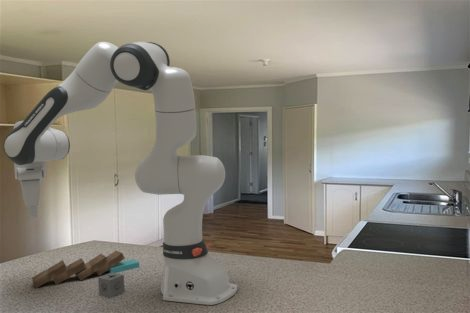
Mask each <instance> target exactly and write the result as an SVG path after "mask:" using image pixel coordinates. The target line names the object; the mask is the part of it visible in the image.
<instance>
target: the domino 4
mask: <svg viewBox="0 0 470 313" xmlns="http://www.w3.org/2000/svg"><path fill="white" fill-rule="evenodd" d="M105 257H106V258H107V259H108V261H109V263H107V264H106V265H104V266H103V267H101V268H100V269H98V270H97V271H95V272H94V273H95V275H96V276H98V277H101V276H102V275H104V273H106V272H108V271H107V270H109V269H110V268H112V267H113V266H115V265H116V264H118V263H119V262H123V261H125V259H126V258H125V256H124V254H123V252H120V251H118V250H115V251H113V252H112V253H109V255H107V256H105ZM94 273H93V274H94Z"/></svg>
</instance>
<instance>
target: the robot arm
mask: <svg viewBox="0 0 470 313" xmlns="http://www.w3.org/2000/svg"><path fill="white" fill-rule="evenodd" d="M170 64H171V61H170V55H169V54H168V51H167V50H166V49H165V48H164V47H163V46H162V45H160V44H159V43H156V42H152V41H151V42H150V41H149V42H148V41H146V42H145V41H135V42H131V43H125V44H122V45H121V46H119V47H118V46H117V45H116V44H113V43H111V42H108V41H99V42H97V43H95V44H94V45H93V46H92V47H91V48H89V50H88V51H87V52H85V54H84V56H83V57H82V58H81V59H80V61H79V62H78V63H77V65H76V66H75V68H74V69H73V71H71V73H70V74H69V75H68V77H67V78H65V79H64V80H63V81H62V82H61V83H59V84H58V85H57V86H55V87H54V88H52V89H50V90H49V91H48V92H47V93H46V94H45V95H44V96H43V97H42V98H41V99H40V100H39V102H38V103H37V104H36V106H35V107H33V109H32V110H31V111H30V112H29V113H28V115H27V116H26V117H25V119H21V120H17V122H15V123H14V125H13V128H12V130H10V131H9V132H8V134H7V135H6V136H5V139H4V142H3V150H4V154H5V155H6V157H7V158H8V159H9V160H10V161H11V162H13V167H14V168H13V169H14V178H15V180H18V181H19V184H20V186H21V187H20V188H21V193H22V199H23V203H24V206H25V207H28V209H29V217H30V218H37V215H38V212H37V211H38V210H37V209H38V206H39V204H40V196H41V194H40V193H41V184H42V183H43V182H44V181H43V180H44V178H47V176H48V172H47V162H48V163H49V162H57V161H60V160H63V159H65V158H66V157H67V156H68V154H69V152H70V149H71V142H70V139H69V136H68V134H66V132H65V131H63V130H61V129H56V128H53V127H51V126H52V125H53V124H54V123H55V122H56V121H57V120H58V119H60V118H61V117H63V116H65V115H68V114H71V113H76V112H79V111H86V110H92V109H94V108H97V107H98V106H99V105H101V104H102V103H103V102H104V101H105V100H106V99H107V98H108V96H109V95H110V94H111V92H112V91H113V90H114V88H115V86H116V85H117V84H118V82H119V83H120V84H123V85H125V86H129V87H132V88H136V89H140V90H143V91H149V90H150V91H151V94H152V96H153V102H154V114H155V141H154V143H153V147H152V149H151V150H150V152H149V153H148V154H147V156H145V157H144V158H142V159H141V161H140V162H139V163H138V164H137V166H136V169H135V172H134V178H135V184H136V185H137V187H138V188H139V190H140V191H141V192H142V193H146V194H150V195H151V194H153V195H158V196H159V195H183V200H182V202H180V203H179V204H176V205H174V206H173V207H171V208H169V209H168V210H167V211H166V212H165V214H164V216H163V219H162V221H163V223H162V224H163V242H162V255H163V256H164V264H163V265H164V267H163V274H162V276H163V277H162V283H161V287H160V293H161V294H162V300H163V301H170V302H177V303H178V302H179V303H188V304H194V305H195V304H197V305H207V306H214V305H219V304H221V303H223V302H225V301H227V300H228V299H230V298H232V296H234V295H235V294H237V291H238V285H237V284H235V283H232V282H230V279H229V273H228V270H227V268H226V267H224V265H223V264H222V263H220V262H219V261H218V260H217V259H215V258H214V257H213V256H212V255H211V254H210V253H209V250H208V249H209V248H211V247H212V245H211V243H210V242H209V243H208V244H206V243H205V240H204V239H203V216H204V212H205V208H206V205H207V203H208V202H209V200H210V199H211V197H212V196H213V195H214V194H215V193H217V191H219V190H220V189H221V187H223V185H224V182H225V179H226V169H225V165H224V164H223V162H222V161H221V159H219V158H218V157H216V156H210V155H203V154H198V155H197V154H195V155H193V154H192V155H179V154H178V153H177V151H178V150H179V149H180V148H182V147H184V146H186V145H188V144H189V143H191V142H193V140H195V137H197V132H198V129H197V128H198V127H197V126H198V125H197V114H196V112H197V111H196V110H197V109H196V101H195V93H194V87H193V83H192V80H191V77H190V73H189V72H188V71H186V70H185V69H183V68H180V67H175V66H173V67H172V66H170Z"/></svg>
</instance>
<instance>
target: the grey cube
mask: <svg viewBox="0 0 470 313" xmlns="http://www.w3.org/2000/svg"><path fill="white" fill-rule="evenodd" d="M97 278H98V295H100V296H104V297H106V298H113V297H116V296H118V295H120V294H122V293H125V276H124V274H121V273H118V272H117V273H113V272H111V273H109V272H108V273H106V274H103V275H100V276H98V277H97Z"/></svg>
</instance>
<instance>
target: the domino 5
mask: <svg viewBox="0 0 470 313" xmlns="http://www.w3.org/2000/svg"><path fill="white" fill-rule="evenodd" d="M137 268H140V262H139V261H137V260H135V259H134V258H132V259H128V260H122V261H121V262H119V263H118V264H116V265H115V266H113V267H112V268H110V269H109V270H107V271H106V272H107V273H108V274H109V273H111V272H113V273H117V274H118V273H120V272H125V271H129V270H133V269H137Z"/></svg>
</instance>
